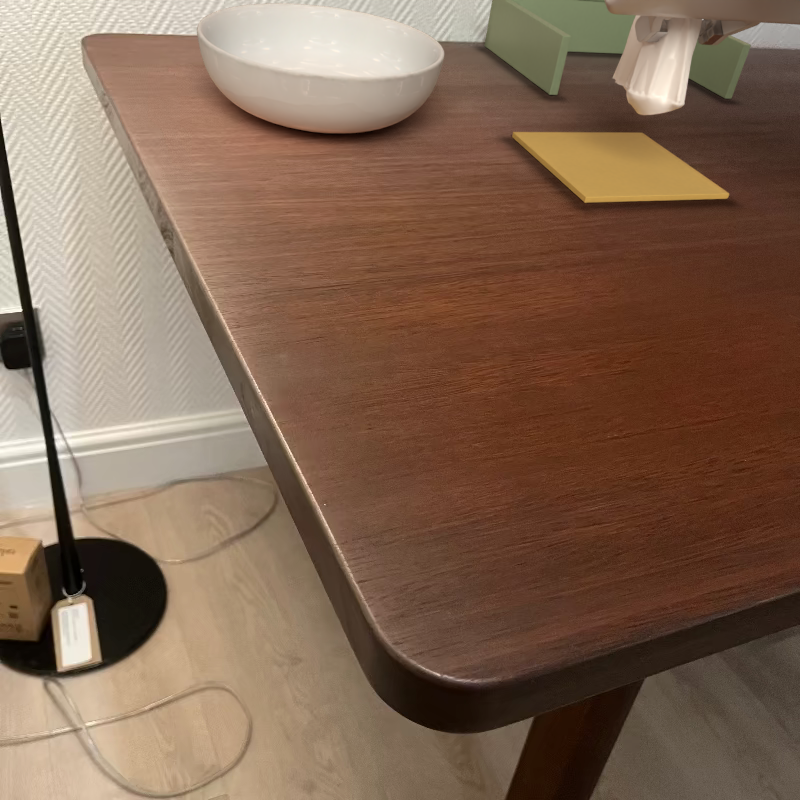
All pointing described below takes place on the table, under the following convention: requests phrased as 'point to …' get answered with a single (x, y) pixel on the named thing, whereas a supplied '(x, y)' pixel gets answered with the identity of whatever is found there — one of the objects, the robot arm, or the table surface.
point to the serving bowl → (319, 65)
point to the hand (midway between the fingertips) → (675, 35)
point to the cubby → (590, 41)
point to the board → (617, 167)
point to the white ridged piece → (658, 67)
